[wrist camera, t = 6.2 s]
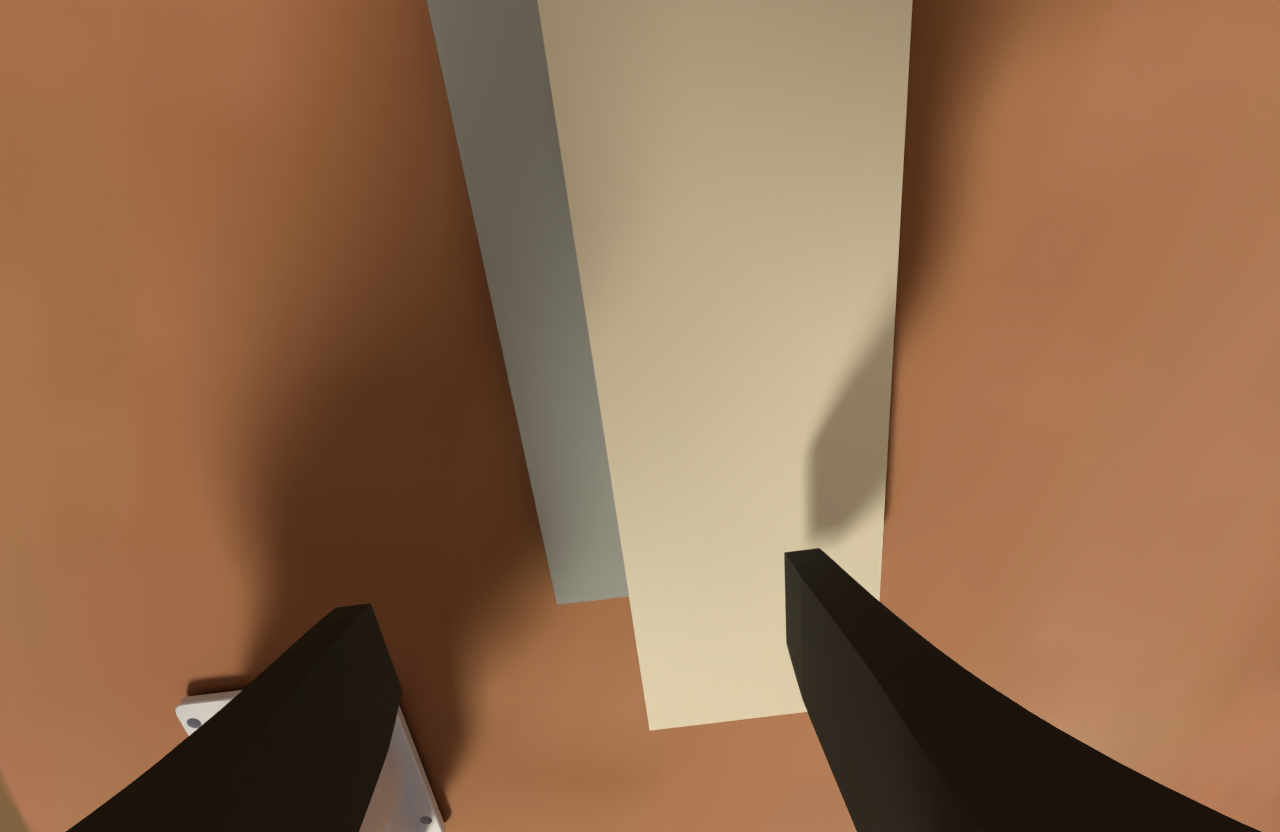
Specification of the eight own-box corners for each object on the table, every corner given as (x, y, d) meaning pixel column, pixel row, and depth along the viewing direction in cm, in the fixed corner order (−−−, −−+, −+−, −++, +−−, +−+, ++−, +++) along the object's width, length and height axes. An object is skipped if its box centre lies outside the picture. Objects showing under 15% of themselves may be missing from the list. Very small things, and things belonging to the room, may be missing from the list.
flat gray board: (866, 544, 22) (919, 629, 18) (559, 581, 22) (549, 674, 18) (892, -78, 15) (991, -155, 11) (433, -19, 15) (371, -75, 11)
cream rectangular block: (818, 585, 17) (873, 703, 14) (641, 606, 17) (649, 730, 14) (820, -5, 12) (916, -72, 8) (558, 28, 12) (533, -23, 8)
